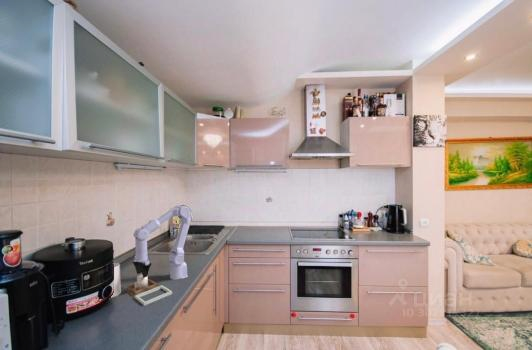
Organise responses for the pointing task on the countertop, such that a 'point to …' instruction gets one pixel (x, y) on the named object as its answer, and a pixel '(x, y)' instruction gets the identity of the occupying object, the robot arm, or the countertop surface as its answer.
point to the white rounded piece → (141, 282)
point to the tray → (153, 298)
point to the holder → (134, 291)
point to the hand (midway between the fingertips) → (142, 275)
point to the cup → (116, 280)
